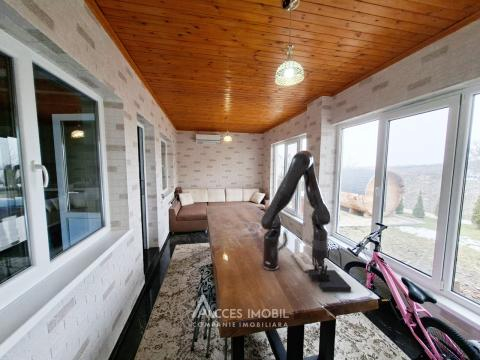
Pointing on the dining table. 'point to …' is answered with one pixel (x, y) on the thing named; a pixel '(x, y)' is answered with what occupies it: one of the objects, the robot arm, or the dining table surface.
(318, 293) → the dining table surface
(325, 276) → the black pad
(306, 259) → the newspaper
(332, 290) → the notched mat
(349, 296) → the dining table surface
